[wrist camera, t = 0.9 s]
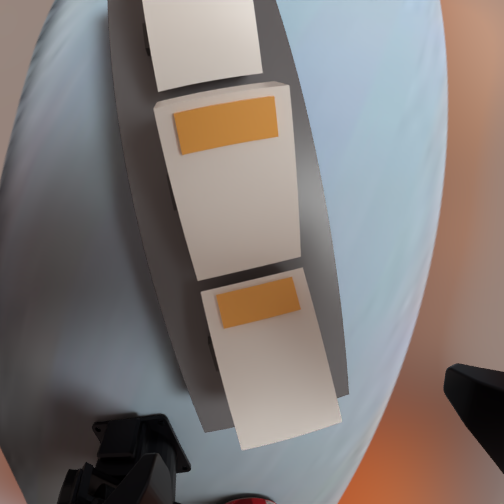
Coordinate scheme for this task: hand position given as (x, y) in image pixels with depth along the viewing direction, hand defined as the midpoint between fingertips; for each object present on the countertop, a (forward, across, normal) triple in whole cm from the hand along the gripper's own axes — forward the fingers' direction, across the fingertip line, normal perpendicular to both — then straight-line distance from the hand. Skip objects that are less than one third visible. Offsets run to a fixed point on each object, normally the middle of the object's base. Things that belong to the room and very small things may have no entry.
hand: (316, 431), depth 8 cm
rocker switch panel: (+13, 0, -6) cm, 14 cm away
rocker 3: (+6, 0, +1) cm, 6 cm away
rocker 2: (+6, 0, -7) cm, 9 cm away
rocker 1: (+6, 0, -15) cm, 16 cm away
